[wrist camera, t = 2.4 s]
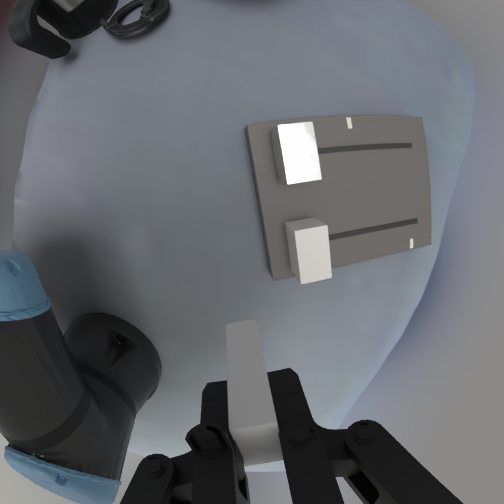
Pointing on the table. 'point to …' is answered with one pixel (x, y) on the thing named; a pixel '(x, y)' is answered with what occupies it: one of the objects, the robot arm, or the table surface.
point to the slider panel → (348, 188)
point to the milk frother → (73, 21)
